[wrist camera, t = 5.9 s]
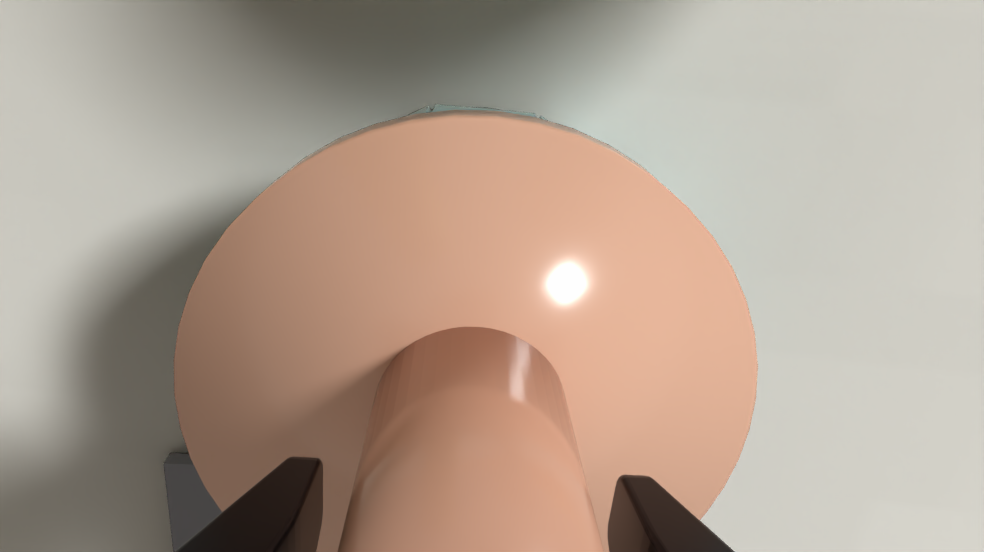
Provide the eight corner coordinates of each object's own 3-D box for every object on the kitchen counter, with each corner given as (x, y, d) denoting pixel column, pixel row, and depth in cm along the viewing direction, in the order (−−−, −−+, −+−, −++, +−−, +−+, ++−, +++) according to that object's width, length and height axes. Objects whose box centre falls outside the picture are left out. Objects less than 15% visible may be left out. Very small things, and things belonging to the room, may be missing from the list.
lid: (676, 588, 13) (805, 950, 8) (215, 568, 13) (46, 946, 8) (794, 138, 10) (1139, 277, 5) (176, 81, 9) (-174, 172, 4)
